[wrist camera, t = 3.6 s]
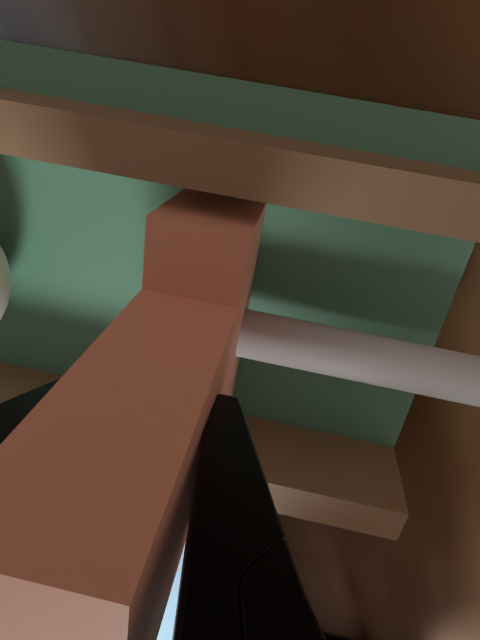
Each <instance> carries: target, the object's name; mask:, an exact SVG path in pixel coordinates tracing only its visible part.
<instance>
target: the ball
mask: <svg viewBox="0 0 480 640" xmlns="http://www.w3.org/2000/svg"><path fill="white" fill-rule="evenodd" d="M10 293H11V274H10V268H9V264H8V260H7V258H6V255H5V253H4V251H3V249H2V247H1V246H0V320H1V318H2V316H3V314H4V312H5V310H6V308H7V305H8V302H9V298H10Z"/></svg>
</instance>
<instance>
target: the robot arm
mask: <svg viewBox="0 0 480 640" xmlns="http://www.w3.org/2000/svg"><path fill="white" fill-rule="evenodd" d="M59 380H60V378H58V379H56V380H54V381H51V382H49V383H46V384H44V385H42V386H39V387H37V388H35V389H32V390H30V391H27V392H25V393H23V394H20V395H18V396H16V397H13V398H11V399H8V400H6V401H4V402H1V403H0V444H1V443H2V442H3V441H4V440H5V439H6V438H7V437H8V436H9V435H10V433H11V432H12V431H13V430H14V429H15V428H16V427H17V426H18V425H19V424H20V422H21V421H22V420H23V419H24V418H25V417H26V416H27V415H28V414H29V413H30V411H31V410H32V409H33V408H34V407H35V406H36V405H37V404H38V403H39V402H40V400H41V399H42V398H43V397H44V396H45V395H46V394H47V393H48V392H49V391H50V389H51V388H52V387H53V386H54V385H55V384H56V383H57V382H58V381H59ZM172 640H336V639H332V638H328V637H325V636H324V634H323V632H322V630H321V627H320V625H319V623H318V621H317V618H316V616H315V614H314V612H313V609H312V607H311V605H310V603H309V600H308V598H307V596H306V593H305V590H304V588H303V585H302V582H301V580H300V577H299V574H298V572H297V569H296V566H295V564H294V561H293V558H292V555H291V552H290V549H289V546H288V543H287V541H286V540H285V534H284V531H283V528H282V525H281V522H280V519H279V516H278V513H277V510H276V507H275V504H274V501H273V498H272V495H271V492H270V489H269V486H268V483H267V480H266V477H265V474H264V471H263V468H262V465H261V462H260V459H259V456H258V453H257V450H256V447H255V444H254V441H253V438H252V435H251V432H250V429H249V426H248V423H247V420H246V417H245V414H244V411H243V408H242V405H241V402H240V400H239V398H237V397H234V396H229V395H225V394H218V395H217V397H216V399H215V402H214V404H213V407H212V409H211V412H210V414H209V417H208V419H207V422H206V424H205V427H204V430H203V432H202V435H201V439H200V446H199V453H198V460H197V466H196V473H195V480H194V487H193V494H192V501H191V508H190V515H189V522H188V529H187V536H186V544H185V551H184V558H183V565H182V573H181V580H180V587H179V594H178V602H177V609H176V616H175V623H174V631H173V638H172Z"/></svg>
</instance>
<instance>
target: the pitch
mask: <svg viewBox="0 0 480 640" xmlns="http://www.w3.org/2000/svg"><path fill="white" fill-rule="evenodd" d="M185 188H187V189H193V190H198V191H203V192H209V193H214V194H219V195H225V196H230V197H236V198H241V199H246V200H252V201H257V202H262V203H267V204H266V210H265V216H264V222H263V227H262V233H261V239H260V244H259V250H258V256H257V261H256V267H255V273H254V278H253V284H252V290H251V296H250V301H249V307H248V309H250V310H254V311H259V312H264V313H269V314H274V315H279V316H284V317H289V318H294V319H299V320H304V321H309V322H314V323H319V324H324V325H329V326H334V327H339V328H344V329H348V330H353V331H358V332H363V333H368V334H373V335H378V336H383V337H388V338H393V339H398V340H403V341H408V342H413V343H418V344H423V345H428V346H433V347H434V346H435V344H436V341H437V339H438V336H439V333H440V331H441V328H442V326H443V323H444V321H445V318H446V316H447V313H448V311H449V308H450V306H451V303H452V301H453V298H454V296H455V293H456V291H457V288H458V286H459V283H460V281H461V278H462V276H463V273H464V271H465V268H466V266H467V263H468V261H469V258H470V256H471V253H472V251H473V248H474V246H475V243H476V242H478V243H480V120H476V119H471V118H465V117H459V116H453V115H447V114H441V113H435V112H429V111H423V110H417V109H411V108H405V107H399V106H393V105H387V104H381V103H375V102H370V101H364V100H358V99H352V98H346V97H340V96H334V95H328V94H322V93H316V92H310V91H304V90H298V89H292V88H286V87H280V86H274V85H268V84H263V83H257V82H251V81H245V80H239V79H233V78H227V77H221V76H215V75H209V74H203V73H197V72H191V71H185V70H179V69H173V68H167V67H162V66H156V65H150V64H144V63H138V62H132V61H126V60H120V59H114V58H108V57H102V56H96V55H90V54H84V53H78V52H72V51H66V50H61V49H55V48H49V47H43V46H37V45H31V44H25V43H19V42H13V41H7V40H1V39H0V246H1V247H2V249H3V251H4V253H5V255H6V258H7V260H8V264H9V268H10V274H11V293H10V298H9V302H8V305H7V308H6V310H5V312H4V314H3V316H2V318H1V320H0V403H1V402H4V401H6V400H8V399H11V398H13V397H16V396H18V395H20V394H23V393H25V392H27V391H30V390H32V389H35V388H37V387H39V386H42V385H44V384H46V383H49V382H51V381H54V380H56V379H58V378H61V377H62V376H63V375H64V374H65V373H66V372H67V371H68V370H69V369H70V367H71V366H72V365H73V364H74V363H75V362H76V361H77V360H78V359H79V357H80V356H81V355H82V354H83V353H84V352H85V351H86V350H87V349H88V348H89V346H90V345H91V344H92V343H93V342H94V341H95V340H96V339H97V338H98V337H99V335H100V334H101V333H102V332H103V331H104V330H105V329H106V328H107V327H108V326H109V324H110V323H111V322H112V321H113V320H114V319H115V318H116V317H117V316H118V315H119V313H120V312H121V311H122V310H123V309H124V308H125V307H126V306H127V305H128V304H129V302H130V301H131V300H132V299H133V298H134V297H135V296H136V295H137V294H138V293H139V291H140V290H141V289H142V280H143V262H144V245H145V227H146V215H148V214H149V213H151V212H152V211H153V210H155V209H156V208H158V207H159V206H161V205H162V204H163V203H165V202H166V201H168V200H169V199H171V198H172V197H173V196H175V195H176V194H178V193H179V192H181V191H182V190H183V189H185ZM233 396H234V397H237V398H239V400H240V402H241V405H242V408H243V411H244V414H245V417H246V420H247V423H248V426H249V429H250V432H251V435H252V438H253V441H254V444H255V447H256V450H257V453H258V456H259V459H260V462H261V465H262V468H263V471H264V474H265V477H266V480H267V483H268V486H269V489H270V492H271V495H272V498H273V501H274V504H275V507H276V510H277V513H278V514H282V515H286V516H291V517H295V518H299V519H304V520H308V521H312V522H316V523H321V524H325V525H329V526H334V527H338V528H342V529H347V530H351V531H355V532H360V533H364V534H368V535H373V536H377V537H381V538H386V539H390V540H394V541H397V540H398V538H399V535H400V533H401V531H402V529H403V527H404V524H405V522H406V520H407V518H408V516H409V513H408V509H407V504H406V499H405V495H404V490H403V486H402V481H401V477H400V472H399V467H398V463H397V458H396V454H395V449H394V447H395V444H396V442H397V439H398V436H399V434H400V431H401V429H402V426H403V424H404V421H405V419H406V416H407V414H408V411H409V409H410V406H411V404H412V401H413V399H414V396H415V394H414V393H410V392H405V391H400V390H395V389H390V388H386V387H381V386H376V385H371V384H367V383H362V382H357V381H352V380H347V379H343V378H338V377H333V376H328V375H324V374H319V373H314V372H309V371H304V370H300V369H295V368H290V367H285V366H281V365H276V364H271V363H266V362H261V361H257V360H252V359H247V358H242V357H240V358H239V364H238V370H237V375H236V381H235V387H234V392H233Z"/></svg>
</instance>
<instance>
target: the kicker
mask: <svg viewBox="0 0 480 640" xmlns="http://www.w3.org/2000/svg"><path fill="white" fill-rule="evenodd" d="M266 204H267V203H262V202H257V201H252V200H246V199H241V198H236V197H230V196H225V195H219V194H214V193H209V192H203V191H198V190H193V189H187V188H185V189H183V190H182V191H181V192H179V193H178V194H176V195H175V196H173V197H172V198H171V199H169V200H168V201H166V202H165V203H163V204H162V205H161V206H159V207H158V208H156V209H155V210H153V211H152V212H151V213H149V214H148V215H146V227H145V245H144V262H143V280H142V289H141V290H140V291H139V293H138V294H137V295H136V296H135V297H134V298H133V299H132V300H131V301H130V302H129V304H128V305H127V306H126V307H125V308H124V309H123V310H122V311H121V312H120V313H119V315H118V316H117V317H116V318H115V319H114V320H113V321H112V322H111V323H110V324H109V326H108V327H107V328H106V329H105V330H104V331H103V332H102V333H101V334H100V335H99V337H98V338H97V339H96V340H95V341H94V342H93V343H92V344H91V345H90V346H89V348H88V349H87V350H86V351H85V352H84V353H83V354H82V355H81V356H80V357H79V359H78V360H77V361H76V362H75V363H74V364H73V365H72V366H71V367H70V369H69V370H68V371H67V372H66V373H65V374H64V375H63V376H62V377H61V378H60V380H59V381H58V382H57V383H56V384H55V385H54V386H53V387H52V388H51V389H50V391H49V392H48V393H47V394H46V395H45V396H44V397H43V398H42V399H41V400H40V402H39V403H38V404H37V405H36V406H35V407H34V408H33V409H32V410H31V411H30V413H29V414H28V415H27V416H26V417H25V418H24V419H23V420H22V421H21V422H20V424H19V425H18V426H17V427H16V428H15V429H14V430H13V431H12V432H11V433H10V435H9V436H8V437H7V438H6V439H5V440H4V441H3V442H2V443H1V444H0V640H156V639H157V636H158V632H159V629H160V625H161V622H162V619H163V615H164V612H165V609H166V605H167V602H168V598H169V595H170V592H171V588H172V585H173V582H174V578H175V575H176V571H177V568H178V565H179V561H180V558H181V554H182V551H183V548H184V544H185V541H186V536H187V529H188V522H189V515H190V508H191V501H192V494H193V487H194V480H195V473H196V466H197V460H198V453H199V446H200V439H201V435H202V432H203V430H204V427H205V424H206V422H207V419H208V417H209V414H210V412H211V409H212V407H213V404H214V402H215V399H216V397H217V395H218V394H225V395H229V396H233V392H234V387H235V381H236V375H237V370H238V364H239V358H240V357H242V358H247V359H252V360H257V361H261V362H266V363H271V364H276V365H281V366H285V367H290V368H295V369H300V370H304V371H309V372H314V373H319V374H324V375H328V376H333V377H338V378H343V379H347V380H352V381H357V382H362V383H367V384H371V385H376V386H381V387H386V388H390V389H395V390H400V391H405V392H410V393H414V394H419V395H424V396H429V397H433V398H438V399H443V400H448V401H452V402H457V403H462V404H467V405H472V406H476V407H480V356H477V355H472V354H467V353H462V352H457V351H452V350H447V349H442V348H438V347H433V346H428V345H423V344H418V343H413V342H408V341H403V340H398V339H393V338H388V337H383V336H378V335H373V334H368V333H363V332H358V331H353V330H348V329H344V328H339V327H334V326H329V325H324V324H319V323H314V322H309V321H304V320H299V319H294V318H289V317H284V316H279V315H274V314H269V313H264V312H259V311H254V310H250V309H248V307H249V301H250V296H251V290H252V284H253V278H254V273H255V267H256V261H257V256H258V250H259V244H260V239H261V233H262V227H263V222H264V216H265V210H266Z"/></svg>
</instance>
